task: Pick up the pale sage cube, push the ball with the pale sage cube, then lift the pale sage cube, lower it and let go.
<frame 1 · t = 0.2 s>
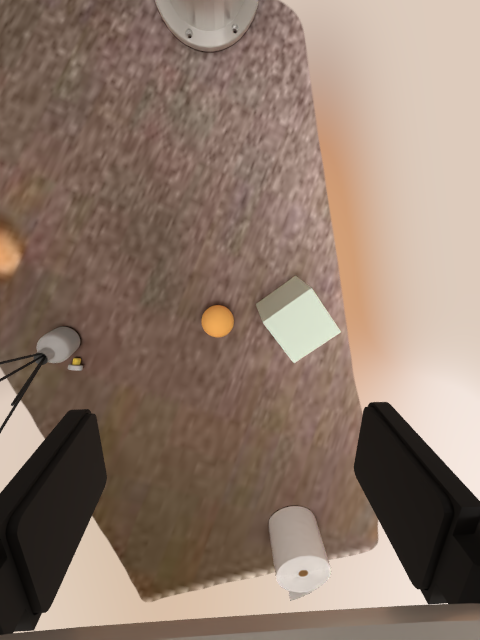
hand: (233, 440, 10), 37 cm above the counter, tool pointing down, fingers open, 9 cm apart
pale sage cube: (288, 308, 47), on the counter
reed diffuser: (76, 339, 47), on the counter
toilet tissue: (292, 523, 64), on the counter
ball: (217, 321, 45), on the counter
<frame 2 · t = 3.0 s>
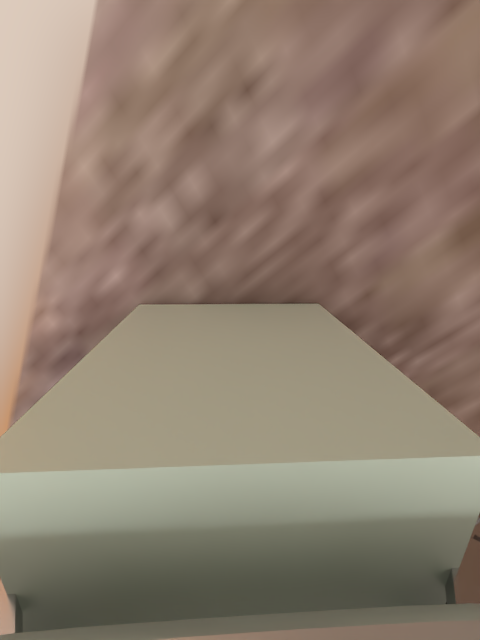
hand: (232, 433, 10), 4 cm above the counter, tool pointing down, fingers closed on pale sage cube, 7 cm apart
pale sage cube: (230, 382, 14), on the counter, touching gripper
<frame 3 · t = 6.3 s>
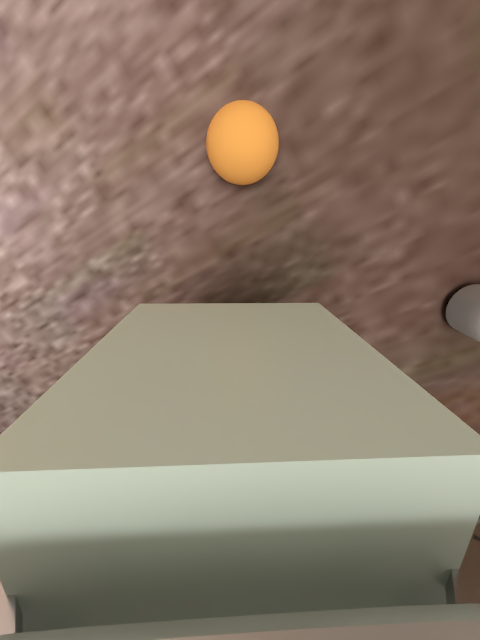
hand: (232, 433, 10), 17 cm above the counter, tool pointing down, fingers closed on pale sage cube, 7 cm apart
pale sage cube: (230, 382, 14), point 13 cm above the counter, touching gripper
reed diffuser: (457, 295, 27), on the counter
ball: (242, 145, 20), on the counter
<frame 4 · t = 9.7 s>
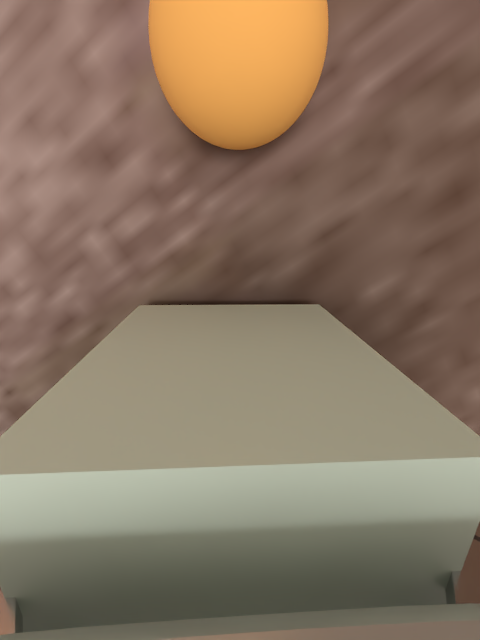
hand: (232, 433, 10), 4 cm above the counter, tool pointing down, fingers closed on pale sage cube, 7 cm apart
pale sage cube: (230, 383, 14), point 1 cm above the counter, touching gripper
ball: (238, 49, 8), on the counter
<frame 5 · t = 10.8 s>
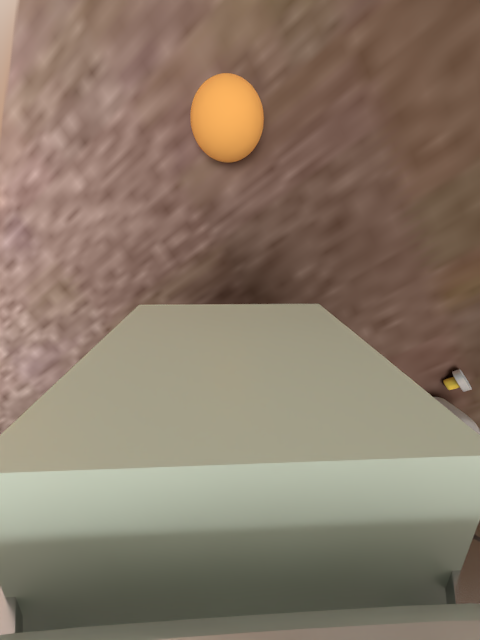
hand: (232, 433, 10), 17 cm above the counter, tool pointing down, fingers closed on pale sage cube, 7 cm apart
pale sage cube: (230, 383, 14), point 14 cm above the counter, touching gripper
reed diffuser: (419, 402, 31), on the counter
ball: (227, 121, 20), on the counter
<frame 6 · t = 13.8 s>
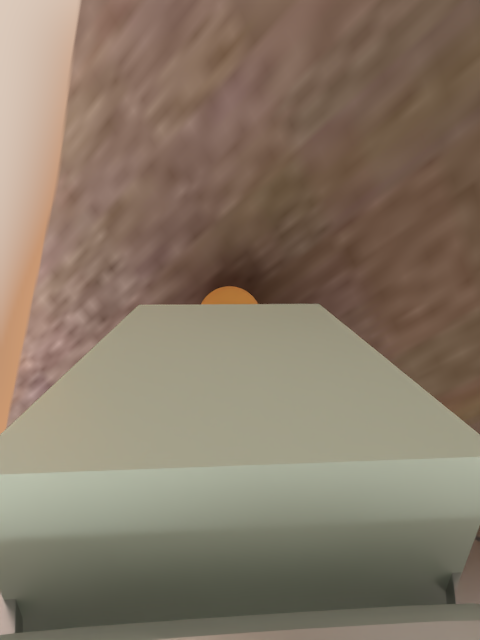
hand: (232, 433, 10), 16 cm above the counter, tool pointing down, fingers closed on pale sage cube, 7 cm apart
pale sage cube: (230, 383, 14), point 12 cm above the counter, touching gripper
ball: (229, 318, 23), on the counter
when the fingers open (4 cm above the counter, at t = 16.9 s): pale sage cube stays where it is, on the counter.
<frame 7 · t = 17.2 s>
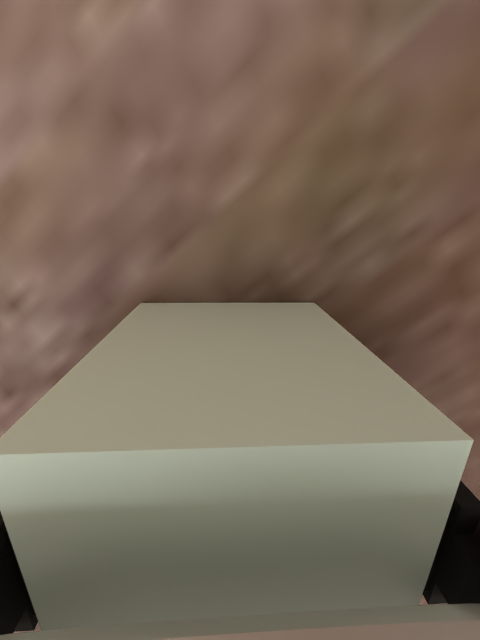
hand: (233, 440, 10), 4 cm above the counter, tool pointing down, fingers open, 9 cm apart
pale sage cube: (228, 379, 14), on the counter
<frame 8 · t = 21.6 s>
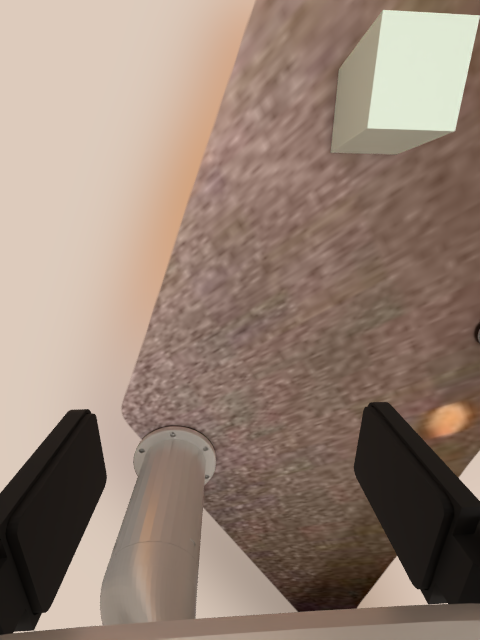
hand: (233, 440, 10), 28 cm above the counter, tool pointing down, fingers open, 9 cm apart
pale sage cube: (369, 113, 32), on the counter
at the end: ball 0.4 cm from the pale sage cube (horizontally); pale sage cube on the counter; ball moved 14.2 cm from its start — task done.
